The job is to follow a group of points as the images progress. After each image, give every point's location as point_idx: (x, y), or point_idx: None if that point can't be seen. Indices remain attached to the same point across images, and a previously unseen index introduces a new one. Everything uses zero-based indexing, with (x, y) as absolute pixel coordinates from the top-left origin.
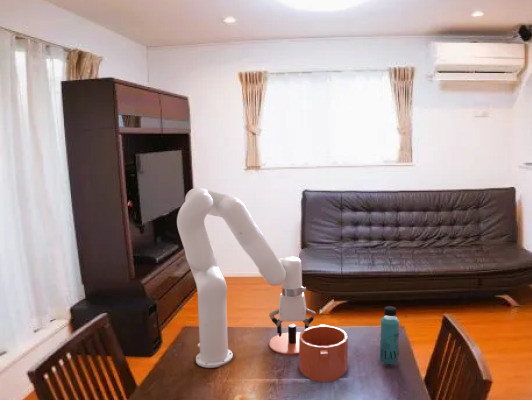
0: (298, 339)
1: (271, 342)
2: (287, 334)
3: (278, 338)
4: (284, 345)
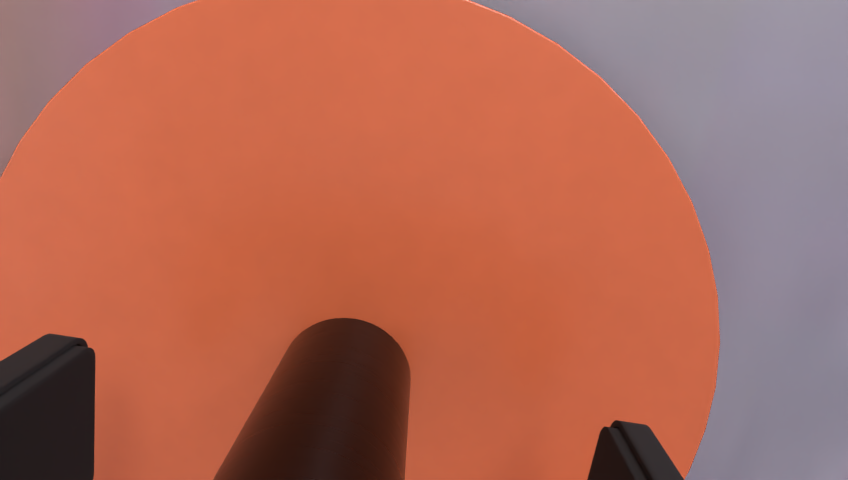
0: (454, 310)
1: (6, 339)
2: (275, 82)
3: (112, 219)
4: (218, 463)
